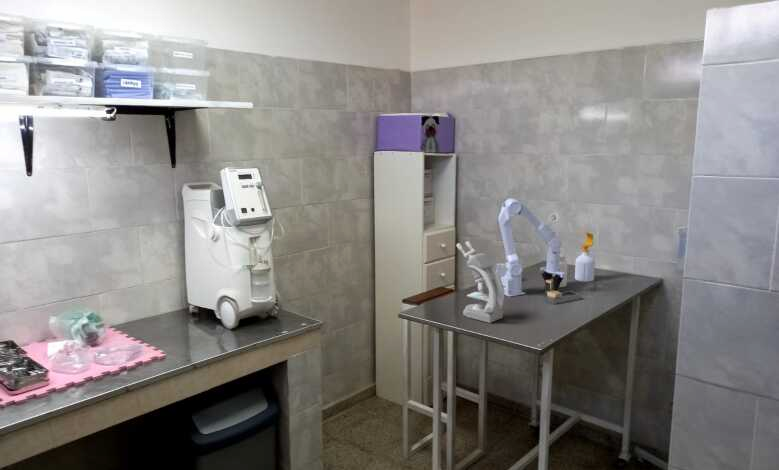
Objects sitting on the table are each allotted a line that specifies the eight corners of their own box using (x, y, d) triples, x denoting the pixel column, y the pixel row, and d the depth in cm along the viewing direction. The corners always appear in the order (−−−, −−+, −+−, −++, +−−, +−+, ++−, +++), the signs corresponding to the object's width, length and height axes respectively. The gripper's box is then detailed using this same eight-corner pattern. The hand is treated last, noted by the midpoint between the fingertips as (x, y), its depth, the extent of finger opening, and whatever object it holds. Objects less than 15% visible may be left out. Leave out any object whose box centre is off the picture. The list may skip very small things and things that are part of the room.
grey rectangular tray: (553, 304, 241) (553, 299, 240) (543, 300, 247) (543, 295, 246) (581, 299, 248) (581, 294, 247) (570, 295, 254) (570, 290, 253)
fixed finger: (554, 301, 242) (555, 294, 242) (547, 298, 246) (547, 291, 246) (562, 299, 244) (562, 293, 244) (554, 296, 248) (555, 290, 248)
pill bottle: (568, 287, 266) (569, 257, 264) (552, 287, 267) (552, 257, 264) (564, 283, 274) (565, 253, 272) (547, 283, 275) (548, 253, 272)
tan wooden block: (549, 294, 256) (550, 281, 255) (544, 292, 259) (544, 280, 258) (558, 292, 258) (559, 280, 257) (553, 291, 261) (553, 278, 260)
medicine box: (511, 280, 283) (512, 263, 281) (512, 282, 278) (513, 265, 277) (496, 279, 284) (496, 263, 282) (496, 282, 279) (497, 265, 278)
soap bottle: (571, 278, 283) (572, 231, 278) (584, 276, 286) (586, 229, 282) (583, 282, 274) (586, 233, 270) (597, 280, 278) (600, 232, 274)
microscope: (469, 308, 238) (469, 239, 232) (506, 318, 224) (507, 245, 219) (453, 314, 230) (453, 243, 225) (490, 324, 217) (491, 249, 212)
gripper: (571, 262, 251) (569, 291, 254) (548, 256, 264) (548, 284, 267) (559, 264, 248) (558, 293, 251) (537, 258, 261) (536, 286, 264)
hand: (552, 289), depth 258 cm, fingers open, 5 cm apart
